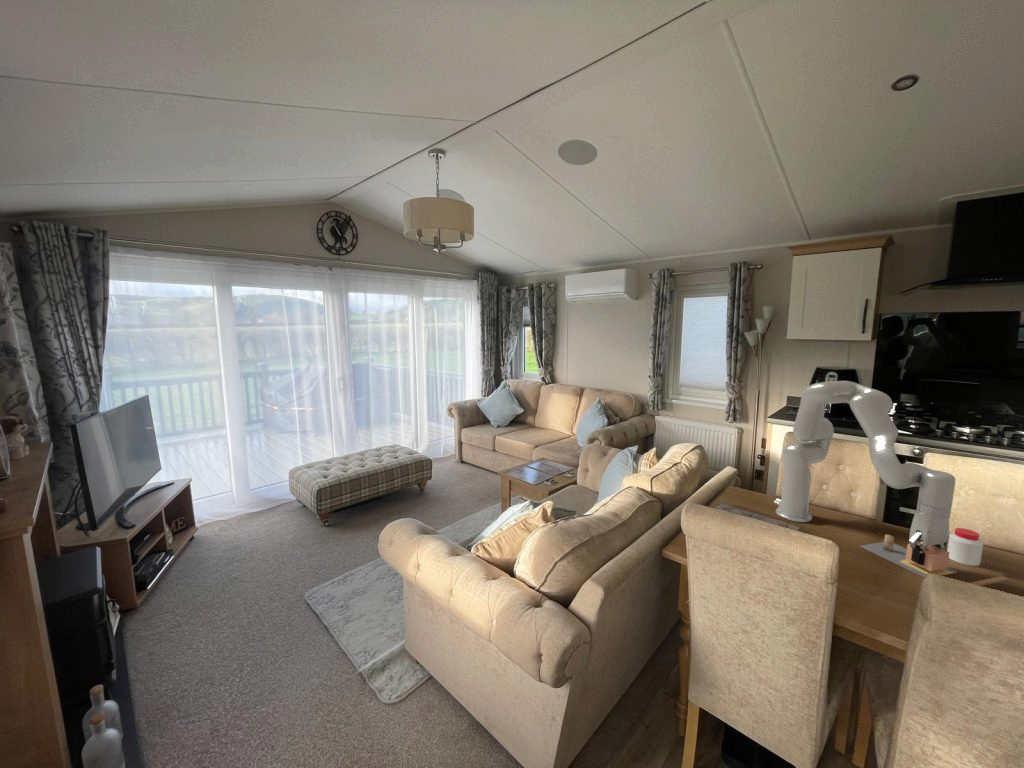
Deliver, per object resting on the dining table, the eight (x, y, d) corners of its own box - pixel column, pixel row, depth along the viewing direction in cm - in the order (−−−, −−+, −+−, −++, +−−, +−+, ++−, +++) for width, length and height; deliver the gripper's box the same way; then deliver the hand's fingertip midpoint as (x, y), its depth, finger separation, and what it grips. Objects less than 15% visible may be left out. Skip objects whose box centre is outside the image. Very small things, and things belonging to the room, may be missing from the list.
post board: (858, 549, 147) (860, 532, 147) (888, 544, 151) (890, 528, 150) (926, 581, 128) (928, 563, 127) (958, 575, 131) (960, 557, 131)
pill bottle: (974, 571, 134) (979, 539, 132) (941, 559, 140) (946, 529, 139) (983, 565, 137) (988, 534, 136) (950, 554, 144) (955, 524, 143)
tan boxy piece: (905, 559, 136) (907, 544, 136) (920, 556, 138) (923, 541, 137) (931, 571, 130) (933, 555, 129) (947, 568, 131) (949, 552, 131)
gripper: (938, 501, 137) (931, 551, 139) (899, 507, 133) (893, 558, 135) (968, 511, 130) (959, 564, 132) (927, 517, 126) (920, 571, 128)
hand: (926, 560), depth 134 cm, fingers closed on tan boxy piece, 7 cm apart
